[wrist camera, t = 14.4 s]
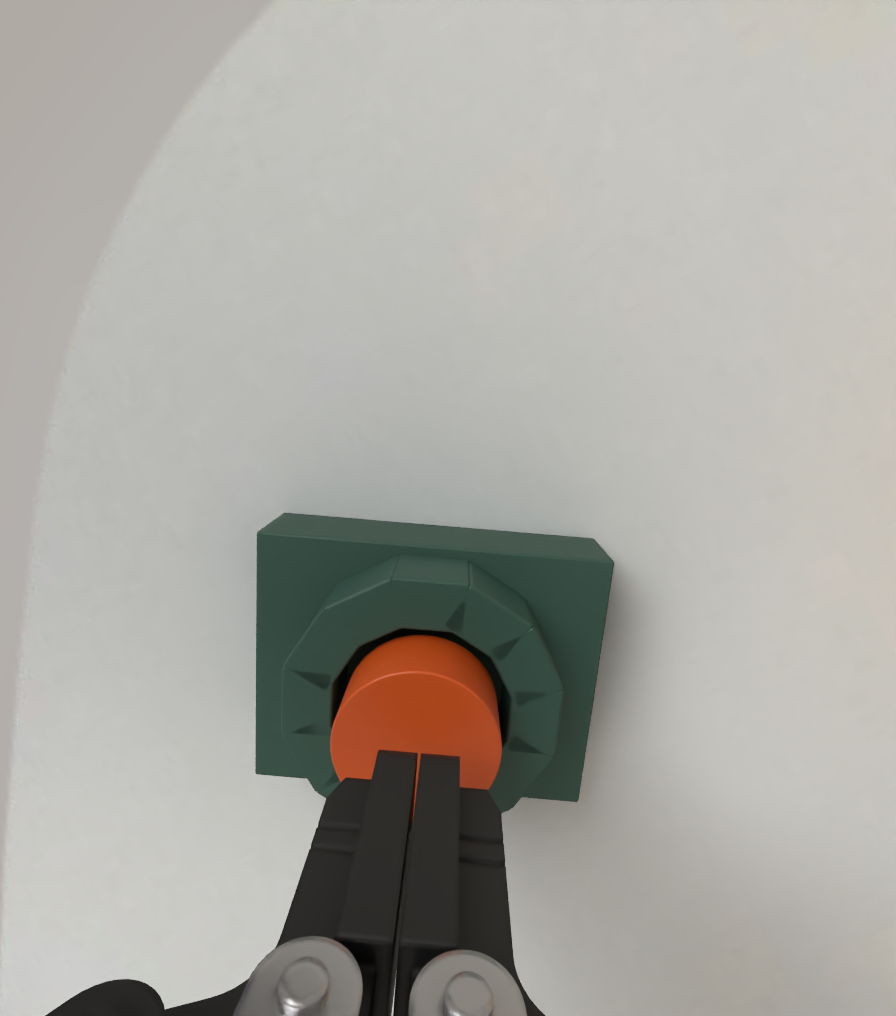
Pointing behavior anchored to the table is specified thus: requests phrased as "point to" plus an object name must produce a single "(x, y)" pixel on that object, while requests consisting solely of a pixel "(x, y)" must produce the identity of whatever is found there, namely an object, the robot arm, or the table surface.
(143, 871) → the table surface
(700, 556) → the table surface
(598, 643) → the button box
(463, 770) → the button
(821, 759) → the table surface
